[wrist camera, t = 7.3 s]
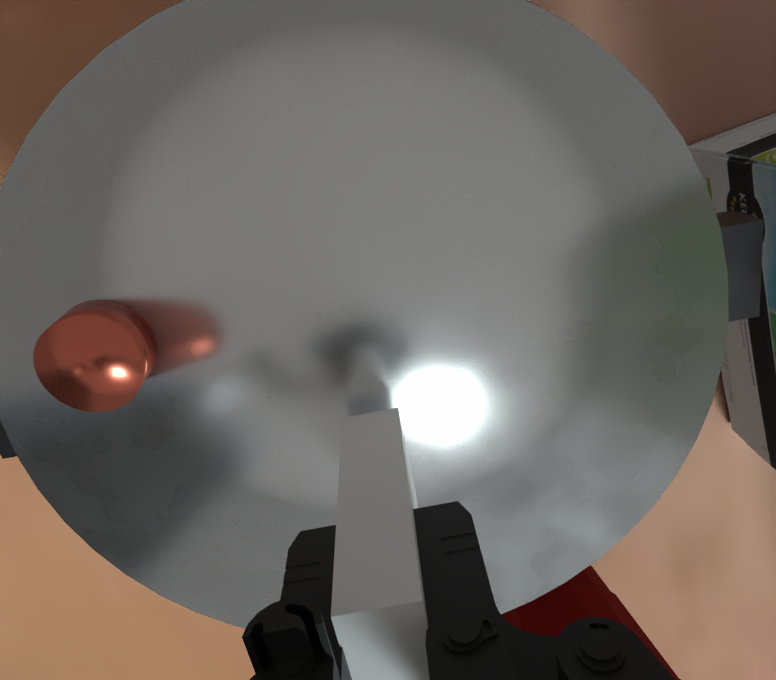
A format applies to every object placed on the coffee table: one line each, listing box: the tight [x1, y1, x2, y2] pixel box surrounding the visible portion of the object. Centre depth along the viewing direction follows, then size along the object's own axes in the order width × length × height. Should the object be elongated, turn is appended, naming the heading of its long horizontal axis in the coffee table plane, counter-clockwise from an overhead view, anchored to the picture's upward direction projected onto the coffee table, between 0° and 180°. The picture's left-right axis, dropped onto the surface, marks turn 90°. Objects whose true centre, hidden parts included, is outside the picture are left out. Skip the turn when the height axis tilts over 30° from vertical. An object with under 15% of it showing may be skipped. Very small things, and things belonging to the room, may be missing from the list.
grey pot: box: [0, 210, 764, 459], centre depth 23 cm, size 24×20×10 cm
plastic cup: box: [501, 565, 681, 680], centre depth 29 cm, size 11×11×12 cm
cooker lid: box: [0, 0, 729, 628], centre depth 16 cm, size 19×19×3 cm
